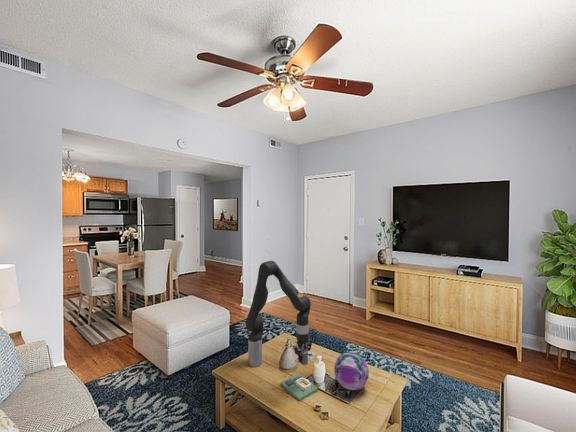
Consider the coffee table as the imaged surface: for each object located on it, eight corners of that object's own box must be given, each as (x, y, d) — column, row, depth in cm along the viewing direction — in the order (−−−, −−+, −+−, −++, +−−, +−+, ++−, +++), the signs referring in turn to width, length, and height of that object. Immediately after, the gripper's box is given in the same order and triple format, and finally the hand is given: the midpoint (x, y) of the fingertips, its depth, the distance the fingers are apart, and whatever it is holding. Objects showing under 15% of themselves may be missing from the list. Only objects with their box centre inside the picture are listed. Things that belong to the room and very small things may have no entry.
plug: (298, 361, 162) (297, 348, 162) (302, 359, 164) (302, 346, 164) (303, 365, 158) (303, 351, 157) (308, 363, 160) (308, 349, 160)
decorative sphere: (365, 402, 149) (365, 367, 148) (330, 392, 157) (330, 358, 157) (370, 381, 167) (371, 349, 167) (338, 373, 176) (338, 343, 175)
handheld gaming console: (316, 352, 199) (307, 363, 186) (316, 354, 199) (307, 365, 186) (303, 349, 204) (294, 359, 190) (303, 351, 204) (294, 361, 191)
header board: (280, 384, 165) (280, 379, 165) (298, 375, 173) (297, 370, 173) (299, 401, 151) (299, 395, 150) (317, 390, 159) (317, 384, 159)
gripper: (307, 325, 168) (307, 353, 168) (289, 332, 159) (289, 361, 159) (315, 329, 162) (316, 358, 162) (297, 336, 153) (297, 366, 154)
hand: (303, 359), depth 161 cm, fingers closed on plug, 3 cm apart
